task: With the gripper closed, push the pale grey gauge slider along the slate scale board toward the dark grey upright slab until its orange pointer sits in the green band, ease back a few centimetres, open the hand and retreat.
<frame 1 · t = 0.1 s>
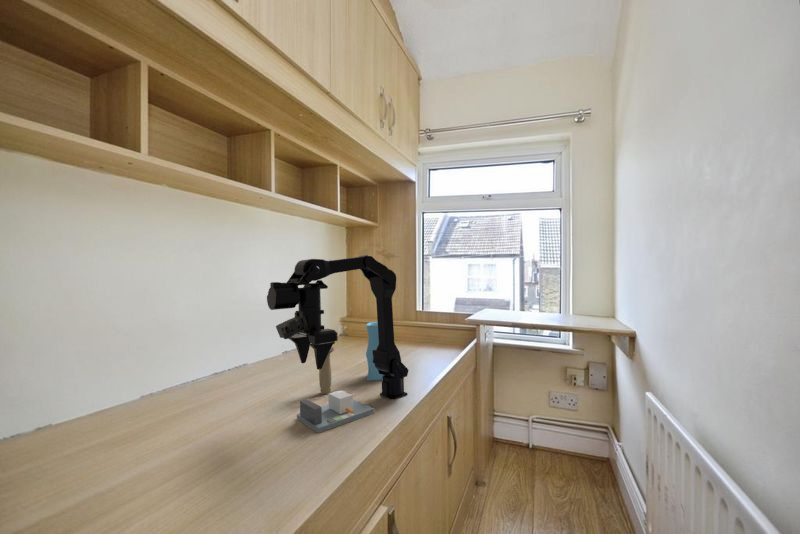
hand: (311, 366, 90), 15 cm above the worktop, fingers open, 9 cm apart
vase: (378, 377, 129), on the worktop
dark grey upright slab: (310, 411, 88), point 3 cm above the worktop
scale board: (336, 415, 93), on the worktop
gauge slider: (343, 403, 93), point 3 cm above the worktop, slide at 0.0 cm
handle: (325, 393, 113), on the worktop
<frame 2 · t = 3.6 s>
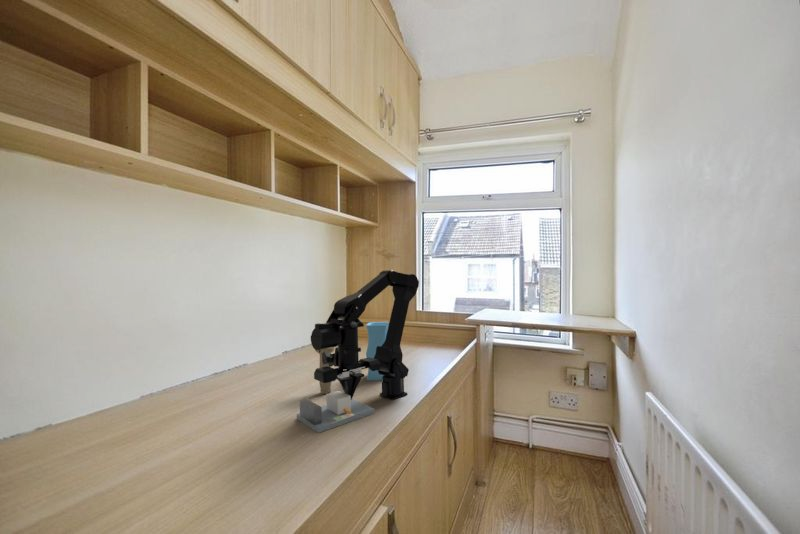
hand: (349, 400, 96), 3 cm above the worktop, fingers closed
gauge slider: (341, 403, 93), point 3 cm above the worktop, slide at 0.6 cm, touching gripper
everything else where it was.
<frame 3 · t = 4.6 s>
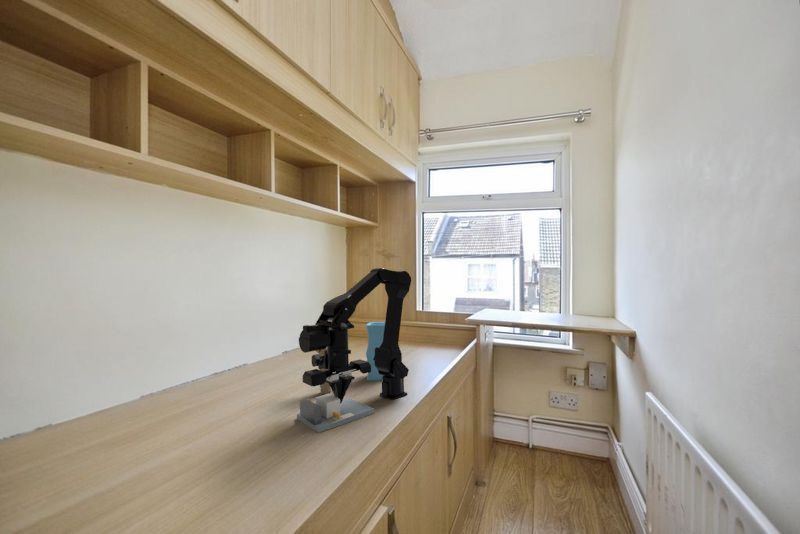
hand: (339, 403, 94), 3 cm above the worktop, fingers closed
gauge slider: (330, 407, 91), point 3 cm above the worktop, slide at 4.0 cm, touching gripper
everything else where it was.
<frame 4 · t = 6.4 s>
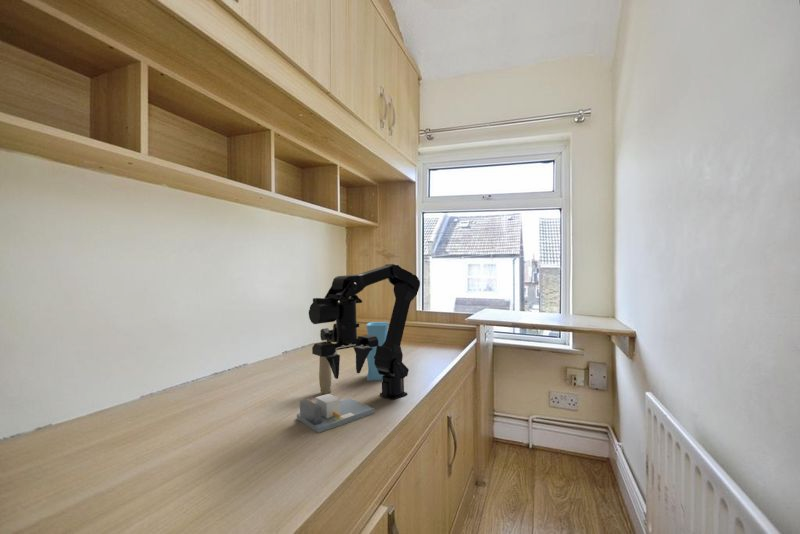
hand: (347, 375, 96), 10 cm above the worktop, fingers open, 7 cm apart
gauge slider: (330, 407, 91), point 3 cm above the worktop, slide at 4.0 cm
everything else where it was.
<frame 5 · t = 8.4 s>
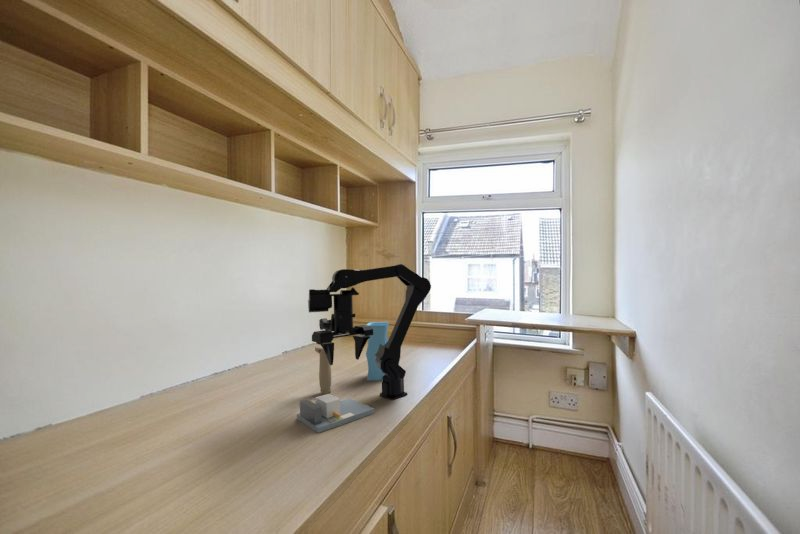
hand: (344, 362, 104), 12 cm above the worktop, fingers open, 9 cm apart
nothing on the worktop moved.
at the end: gauge slider slide at 4.0 cm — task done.
